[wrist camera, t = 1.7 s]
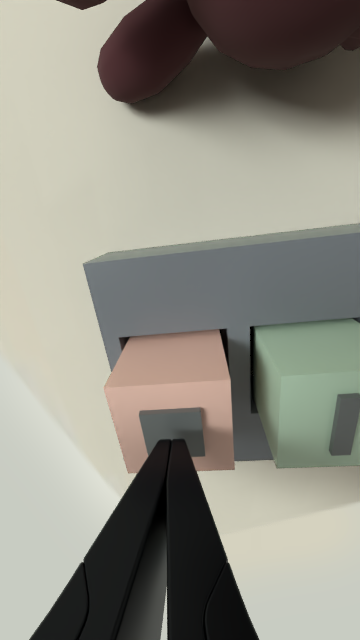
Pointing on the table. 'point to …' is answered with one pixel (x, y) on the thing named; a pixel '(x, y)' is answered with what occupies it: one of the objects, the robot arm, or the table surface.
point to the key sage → (309, 391)
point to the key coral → (173, 398)
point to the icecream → (218, 37)
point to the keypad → (228, 299)
